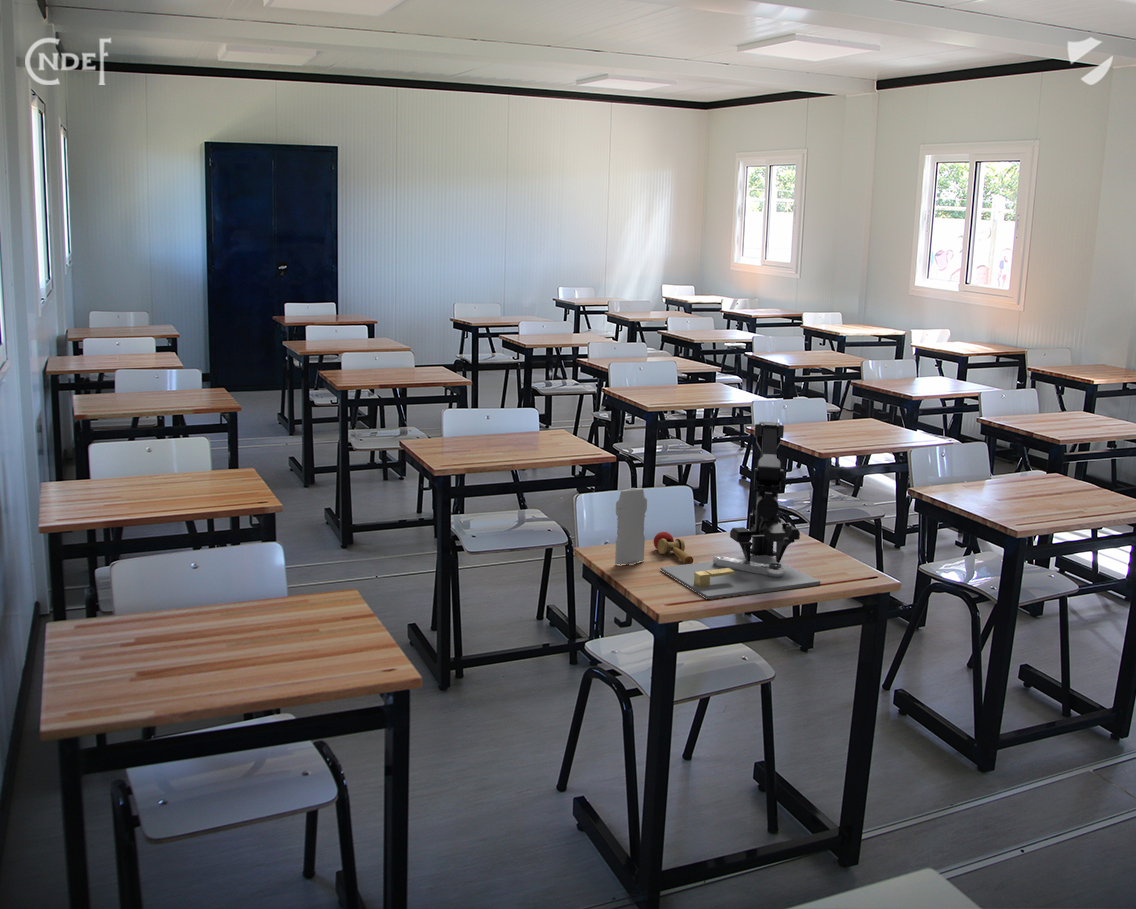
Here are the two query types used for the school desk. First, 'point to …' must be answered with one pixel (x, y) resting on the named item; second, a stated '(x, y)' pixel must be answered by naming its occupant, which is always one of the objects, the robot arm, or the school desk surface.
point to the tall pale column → (630, 526)
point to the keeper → (704, 577)
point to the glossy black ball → (775, 565)
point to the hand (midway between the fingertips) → (763, 563)
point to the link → (748, 566)
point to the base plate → (740, 579)
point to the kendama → (672, 546)
